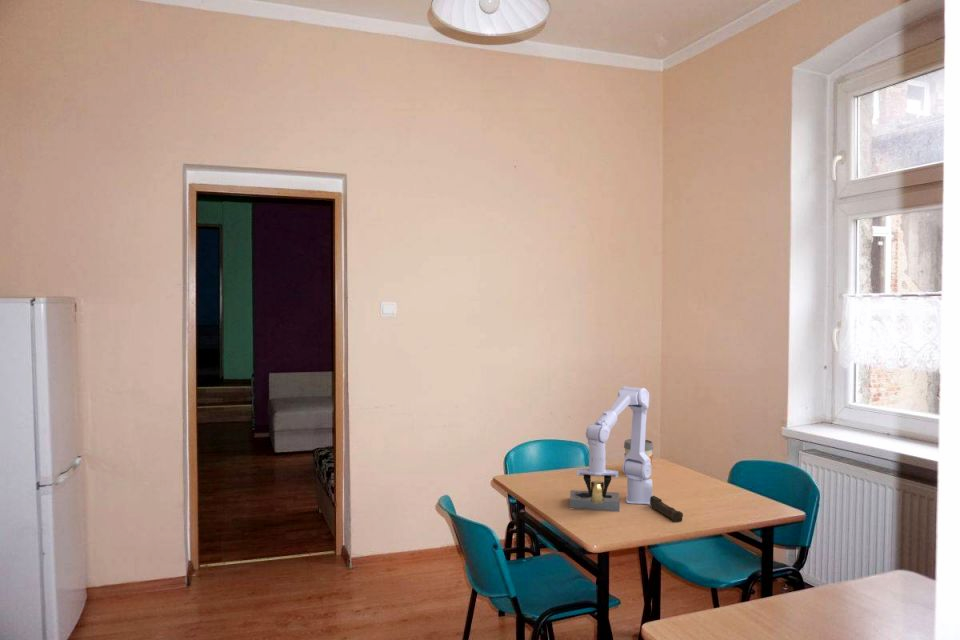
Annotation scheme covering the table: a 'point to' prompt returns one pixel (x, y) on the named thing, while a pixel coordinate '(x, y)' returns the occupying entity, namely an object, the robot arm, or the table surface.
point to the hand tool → (665, 509)
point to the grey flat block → (584, 502)
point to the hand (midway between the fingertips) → (597, 496)
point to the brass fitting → (597, 492)
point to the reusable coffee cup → (647, 448)
